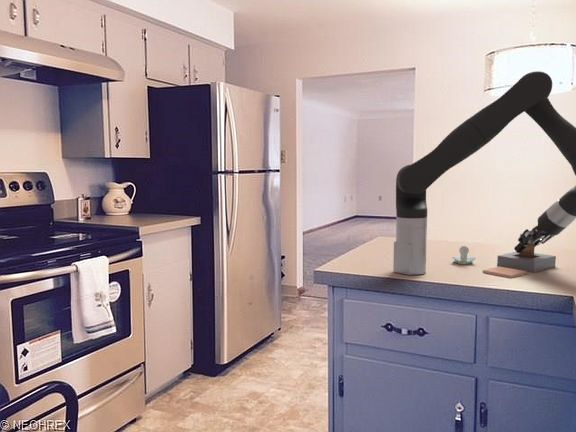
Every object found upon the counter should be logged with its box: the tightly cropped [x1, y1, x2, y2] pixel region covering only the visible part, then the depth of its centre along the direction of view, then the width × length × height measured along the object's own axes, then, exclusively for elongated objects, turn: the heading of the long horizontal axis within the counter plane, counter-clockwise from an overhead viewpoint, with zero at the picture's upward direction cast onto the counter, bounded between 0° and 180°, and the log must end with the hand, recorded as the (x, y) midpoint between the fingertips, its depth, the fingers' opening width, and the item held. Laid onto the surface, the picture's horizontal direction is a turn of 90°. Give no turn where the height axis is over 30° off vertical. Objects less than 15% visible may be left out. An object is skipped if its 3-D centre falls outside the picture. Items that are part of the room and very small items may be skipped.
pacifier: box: [451, 245, 476, 265], centre depth 165 cm, size 7×6×6 cm
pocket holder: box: [496, 251, 557, 273], centre depth 159 cm, size 14×12×4 cm
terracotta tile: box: [482, 266, 528, 279], centre depth 150 cm, size 9×9×1 cm
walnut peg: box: [519, 233, 536, 258], centre depth 159 cm, size 4×4×10 cm
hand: (521, 250), depth 161 cm, fingers closed on walnut peg, 4 cm apart
